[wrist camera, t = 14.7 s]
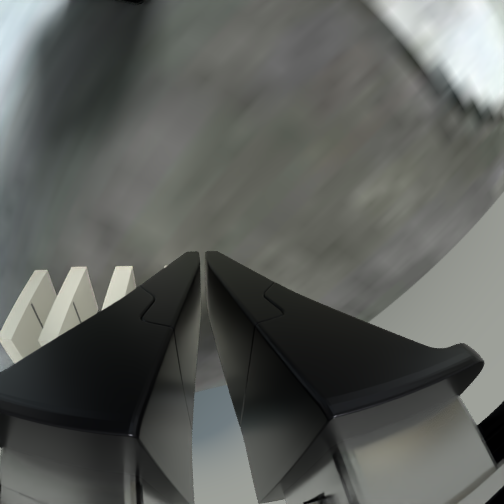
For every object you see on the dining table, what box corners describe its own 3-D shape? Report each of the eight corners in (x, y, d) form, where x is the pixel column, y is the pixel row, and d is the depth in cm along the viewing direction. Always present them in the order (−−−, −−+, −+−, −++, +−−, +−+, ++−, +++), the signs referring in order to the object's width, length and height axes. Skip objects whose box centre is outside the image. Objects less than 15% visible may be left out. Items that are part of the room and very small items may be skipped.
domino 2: (84, 307, 25) (62, 381, 18) (71, 267, 22) (37, 340, 15) (98, 308, 25) (79, 383, 18) (86, 266, 23) (56, 342, 15)
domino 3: (125, 308, 26) (111, 385, 18) (115, 266, 23) (91, 345, 16) (140, 308, 26) (130, 386, 19) (132, 266, 24) (114, 345, 16)
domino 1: (50, 308, 24) (23, 376, 17) (35, 269, 22) (-3, 337, 14) (62, 309, 25) (37, 379, 17) (47, 269, 22) (11, 339, 15)
